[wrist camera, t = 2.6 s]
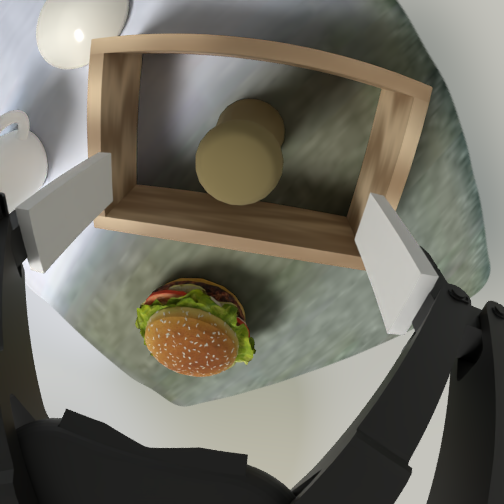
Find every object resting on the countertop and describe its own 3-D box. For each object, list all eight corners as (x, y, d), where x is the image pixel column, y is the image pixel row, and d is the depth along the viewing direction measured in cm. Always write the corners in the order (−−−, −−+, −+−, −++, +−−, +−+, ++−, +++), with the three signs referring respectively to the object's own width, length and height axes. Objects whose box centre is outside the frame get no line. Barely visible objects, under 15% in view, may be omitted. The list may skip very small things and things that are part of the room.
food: (171, 349, 43) (157, 394, 36) (133, 275, 36) (107, 321, 29) (263, 346, 41) (260, 395, 34) (243, 264, 33) (235, 317, 27)
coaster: (47, -17, 16) (44, -18, 15) (138, -39, 16) (135, -41, 15) (36, 74, 22) (32, 75, 21) (121, 64, 22) (119, 64, 22)
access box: (132, 42, 21) (91, 39, 15) (396, 80, 21) (432, 87, 16) (126, 193, 29) (94, 227, 24) (354, 229, 30) (371, 271, 24)
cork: (247, 176, 28) (232, 239, 19) (201, 129, 25) (160, 167, 16) (299, 136, 25) (314, 179, 16) (253, 84, 23) (240, 93, 14)
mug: (23, 87, 22) (-46, 110, 14) (70, 118, 25) (1, 148, 16) (0, 171, 28) (-54, 209, 20) (40, 203, 30) (-12, 250, 22)
